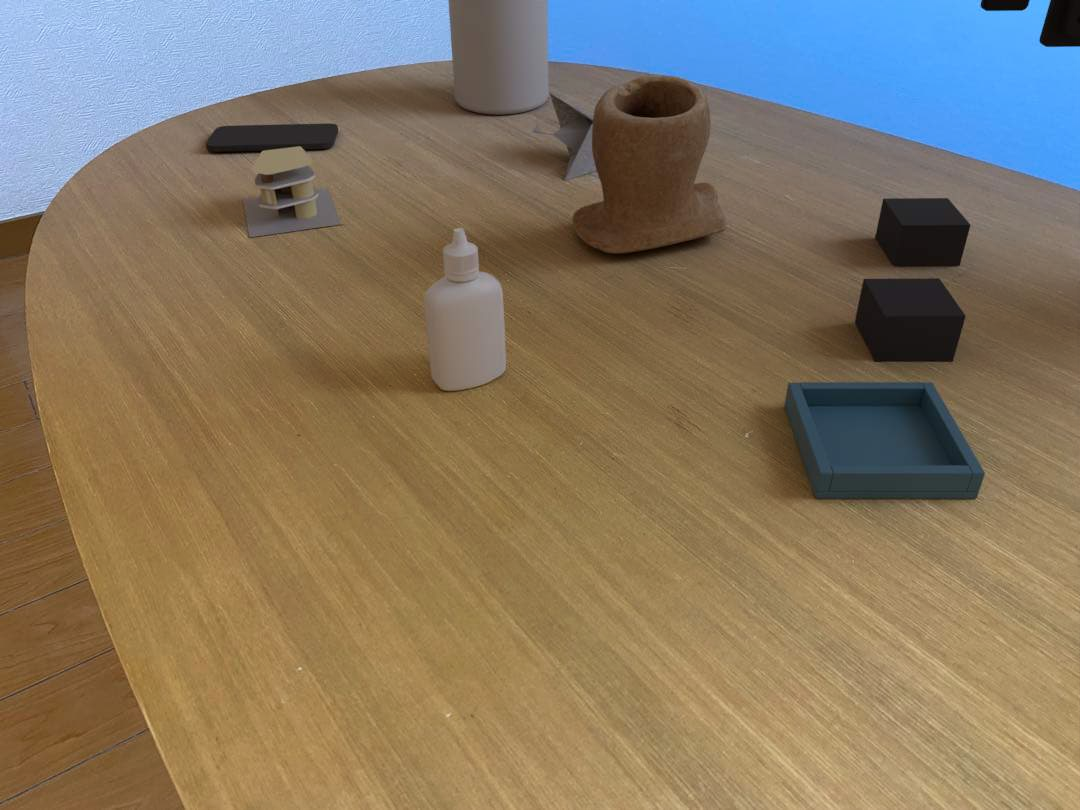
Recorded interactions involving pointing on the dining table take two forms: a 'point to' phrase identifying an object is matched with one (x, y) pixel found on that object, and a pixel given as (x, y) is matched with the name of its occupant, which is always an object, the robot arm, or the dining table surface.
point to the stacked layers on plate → (287, 195)
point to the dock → (881, 441)
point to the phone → (272, 137)
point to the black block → (909, 319)
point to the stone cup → (650, 167)
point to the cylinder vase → (499, 54)
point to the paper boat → (574, 136)
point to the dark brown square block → (922, 232)
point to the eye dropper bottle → (465, 321)
